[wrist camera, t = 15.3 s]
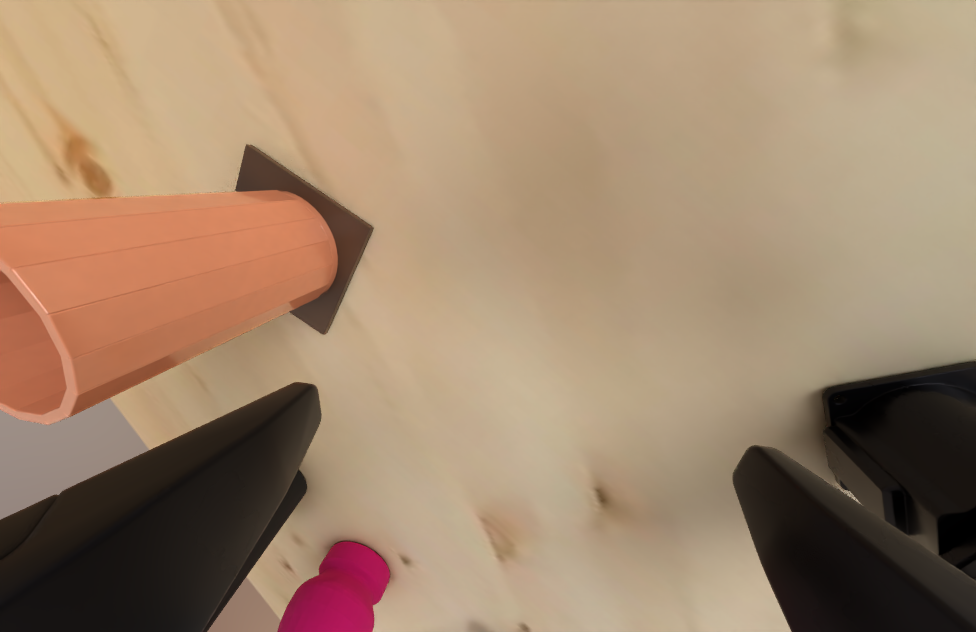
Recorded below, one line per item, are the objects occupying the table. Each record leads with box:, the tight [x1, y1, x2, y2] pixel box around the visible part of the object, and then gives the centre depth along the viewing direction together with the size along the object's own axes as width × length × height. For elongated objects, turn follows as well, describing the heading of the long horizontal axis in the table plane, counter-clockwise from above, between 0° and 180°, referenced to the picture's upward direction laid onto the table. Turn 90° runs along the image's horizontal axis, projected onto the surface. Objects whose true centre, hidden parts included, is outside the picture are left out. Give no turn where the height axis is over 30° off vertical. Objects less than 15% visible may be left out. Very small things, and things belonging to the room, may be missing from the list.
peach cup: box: [0, 190, 338, 425], centre depth 16 cm, size 7×7×12 cm
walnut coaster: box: [235, 145, 373, 335], centre depth 22 cm, size 8×8×1 cm
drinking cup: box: [203, 470, 307, 632], centre depth 22 cm, size 8×8×20 cm
